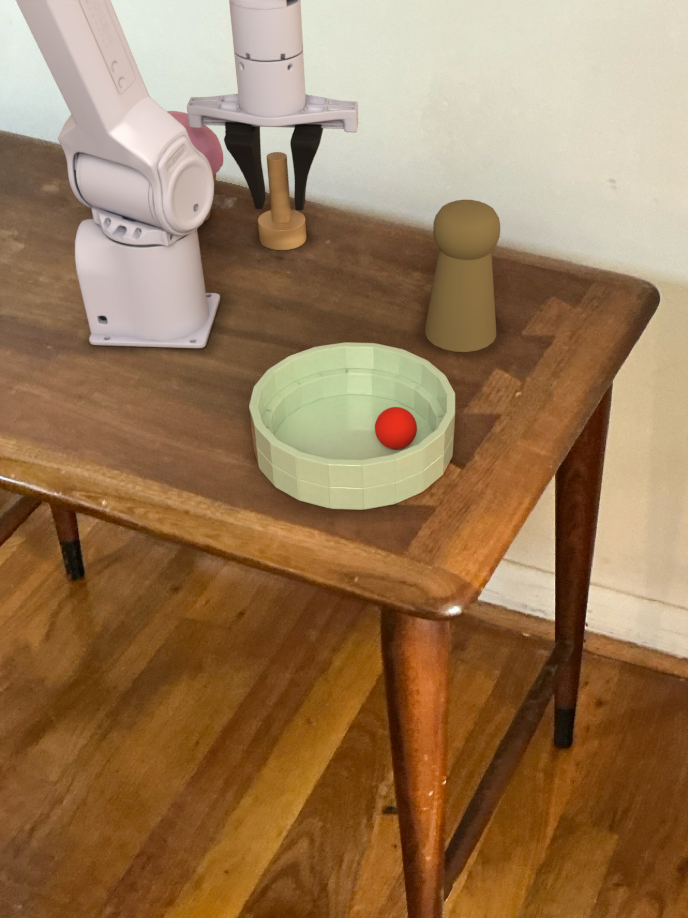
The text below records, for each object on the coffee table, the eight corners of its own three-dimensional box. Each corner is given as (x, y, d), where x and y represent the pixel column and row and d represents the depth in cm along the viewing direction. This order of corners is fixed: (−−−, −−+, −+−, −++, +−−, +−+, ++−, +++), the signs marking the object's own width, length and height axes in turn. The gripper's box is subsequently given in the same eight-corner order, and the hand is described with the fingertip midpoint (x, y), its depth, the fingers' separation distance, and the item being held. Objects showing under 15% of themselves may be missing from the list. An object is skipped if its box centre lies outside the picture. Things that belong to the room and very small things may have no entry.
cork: (491, 356, 83) (502, 230, 76) (418, 347, 84) (421, 221, 76) (501, 317, 88) (512, 194, 80) (431, 308, 88) (436, 186, 81)
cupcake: (197, 192, 104) (184, 90, 97) (247, 223, 99) (236, 119, 92) (119, 218, 99) (99, 114, 92) (168, 252, 95) (150, 145, 88)
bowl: (242, 512, 69) (235, 461, 66) (269, 389, 80) (264, 339, 77) (451, 519, 69) (455, 468, 66) (452, 394, 79) (455, 345, 76)
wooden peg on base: (256, 249, 95) (248, 166, 90) (262, 227, 98) (255, 145, 93) (303, 251, 95) (298, 167, 90) (308, 228, 98) (304, 146, 93)
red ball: (373, 457, 73) (373, 423, 71) (376, 431, 75) (375, 397, 73) (415, 458, 73) (416, 425, 71) (417, 432, 75) (418, 399, 73)
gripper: (359, 35, 88) (361, 187, 97) (190, 31, 88) (209, 183, 97) (353, 65, 83) (356, 222, 92) (174, 60, 83) (195, 218, 92)
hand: (280, 204), depth 95 cm, fingers open, 3 cm apart
